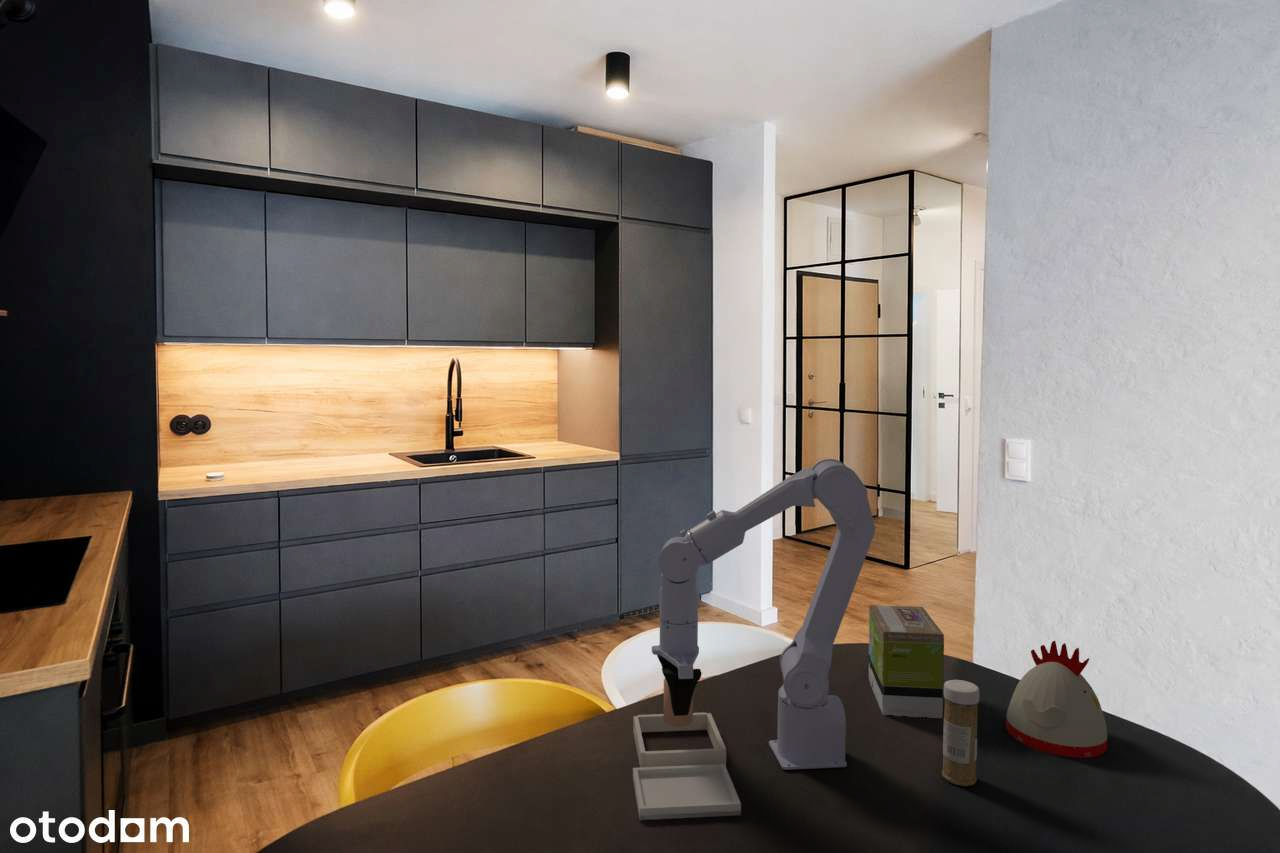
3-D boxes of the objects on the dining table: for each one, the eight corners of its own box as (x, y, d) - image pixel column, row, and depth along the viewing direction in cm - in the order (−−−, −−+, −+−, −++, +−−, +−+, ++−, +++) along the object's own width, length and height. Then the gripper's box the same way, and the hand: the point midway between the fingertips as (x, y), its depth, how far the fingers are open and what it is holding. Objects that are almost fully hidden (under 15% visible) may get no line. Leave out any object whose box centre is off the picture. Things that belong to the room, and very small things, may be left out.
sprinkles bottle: (983, 781, 103) (986, 686, 103) (963, 791, 101) (967, 694, 100) (953, 767, 107) (956, 675, 106) (934, 776, 105) (936, 682, 104)
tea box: (866, 680, 138) (868, 602, 137) (922, 684, 137) (924, 605, 136) (881, 716, 123) (883, 629, 123) (944, 720, 122) (946, 632, 121)
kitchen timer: (1088, 767, 107) (1092, 666, 106) (991, 733, 118) (994, 640, 117) (1119, 738, 116) (1123, 644, 116) (1027, 708, 127) (1030, 622, 126)
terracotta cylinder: (690, 712, 114) (690, 674, 114) (695, 725, 110) (695, 686, 110) (661, 714, 114) (662, 675, 114) (665, 727, 110) (665, 687, 109)
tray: (724, 774, 105) (724, 763, 105) (740, 815, 95) (740, 803, 95) (632, 778, 104) (632, 767, 103) (639, 820, 94) (639, 808, 94)
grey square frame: (710, 727, 119) (710, 712, 119) (726, 767, 107) (726, 750, 106) (633, 730, 118) (633, 715, 118) (640, 771, 105) (640, 754, 105)
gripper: (647, 604, 118) (646, 688, 119) (658, 635, 103) (657, 730, 104) (690, 603, 119) (690, 686, 119) (707, 634, 104) (707, 728, 105)
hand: (678, 707), depth 112 cm, fingers closed on terracotta cylinder, 4 cm apart
